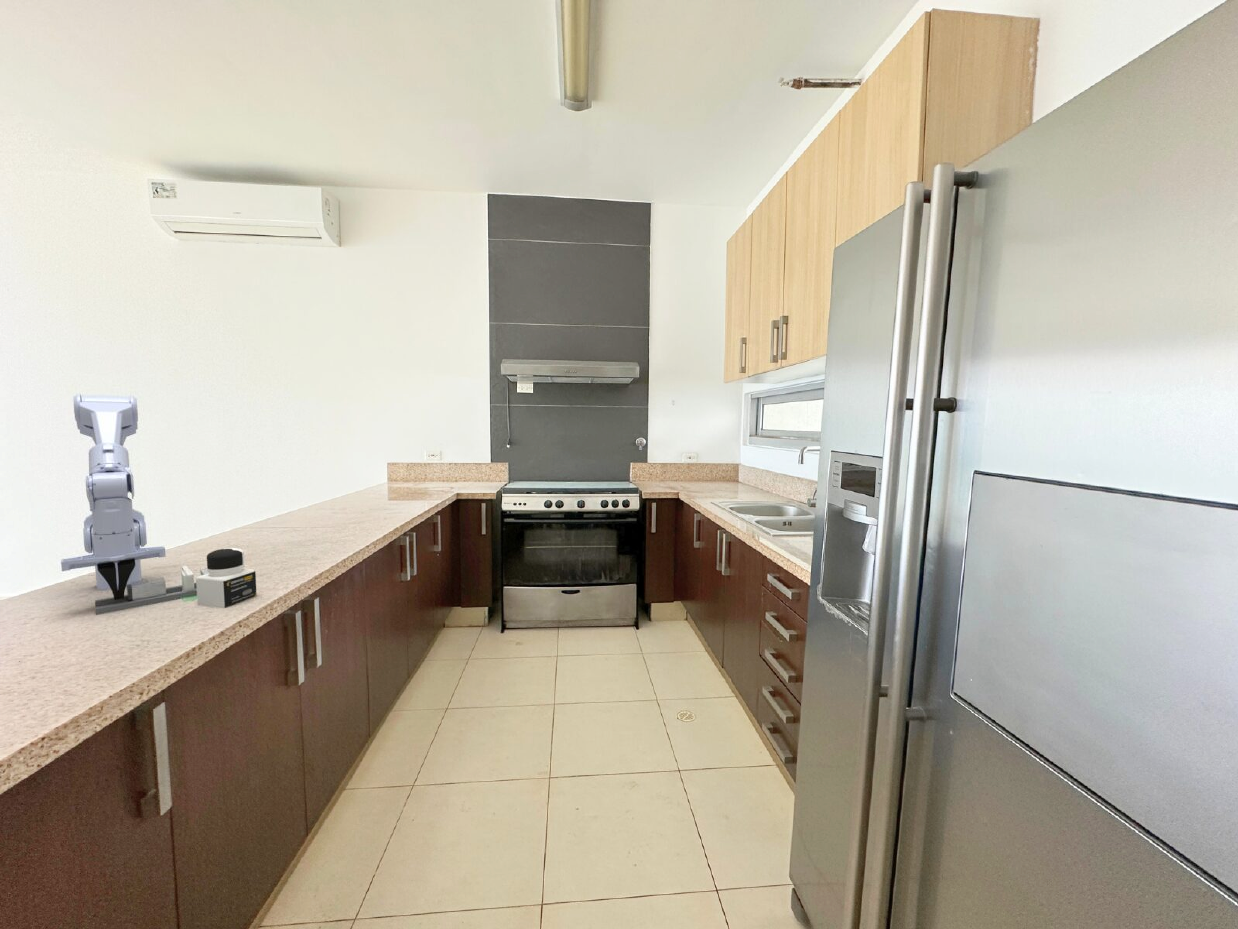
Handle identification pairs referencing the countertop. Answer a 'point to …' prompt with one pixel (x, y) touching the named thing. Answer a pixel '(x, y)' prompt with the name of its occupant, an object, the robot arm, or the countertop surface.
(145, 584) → the grey rail carriage
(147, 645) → the countertop surface
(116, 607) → the gauge board
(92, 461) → the robot arm
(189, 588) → the off-white rectangular block
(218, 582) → the medicine bottle
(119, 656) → the countertop surface
